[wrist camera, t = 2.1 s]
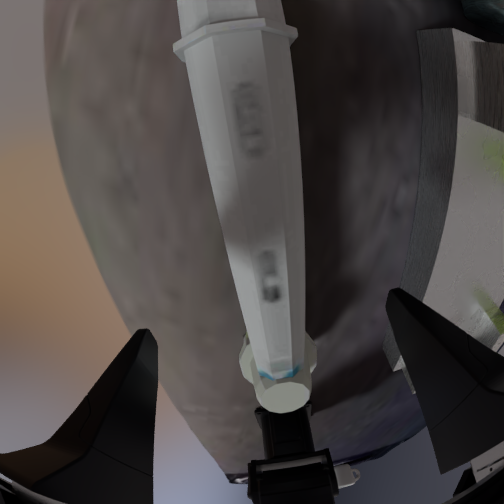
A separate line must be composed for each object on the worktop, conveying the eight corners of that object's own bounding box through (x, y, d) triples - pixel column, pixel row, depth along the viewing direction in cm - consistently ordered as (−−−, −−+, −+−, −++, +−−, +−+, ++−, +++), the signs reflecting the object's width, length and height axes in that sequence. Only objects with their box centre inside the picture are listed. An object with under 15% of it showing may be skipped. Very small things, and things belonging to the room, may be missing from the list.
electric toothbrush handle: (299, -52, 5) (327, 425, 16) (274, 8, 11) (309, 358, 22) (144, -33, 5) (251, 437, 16) (178, 21, 11) (246, 368, 22)
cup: (362, 458, 63) (368, 479, 56) (350, 465, 67) (354, 484, 61) (333, 465, 61) (338, 487, 54) (322, 470, 65) (325, 491, 58)
